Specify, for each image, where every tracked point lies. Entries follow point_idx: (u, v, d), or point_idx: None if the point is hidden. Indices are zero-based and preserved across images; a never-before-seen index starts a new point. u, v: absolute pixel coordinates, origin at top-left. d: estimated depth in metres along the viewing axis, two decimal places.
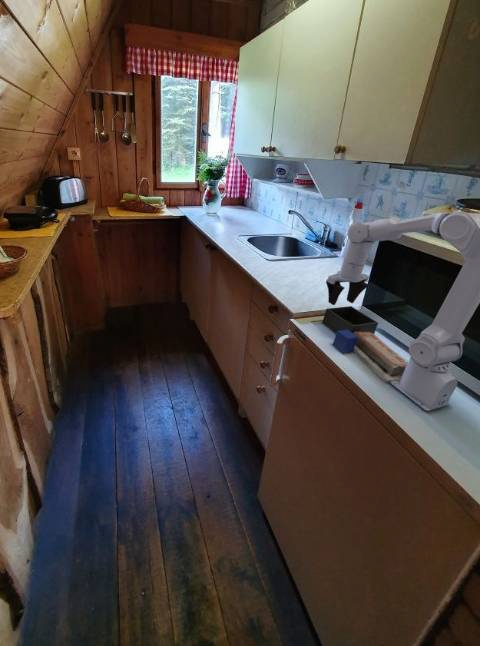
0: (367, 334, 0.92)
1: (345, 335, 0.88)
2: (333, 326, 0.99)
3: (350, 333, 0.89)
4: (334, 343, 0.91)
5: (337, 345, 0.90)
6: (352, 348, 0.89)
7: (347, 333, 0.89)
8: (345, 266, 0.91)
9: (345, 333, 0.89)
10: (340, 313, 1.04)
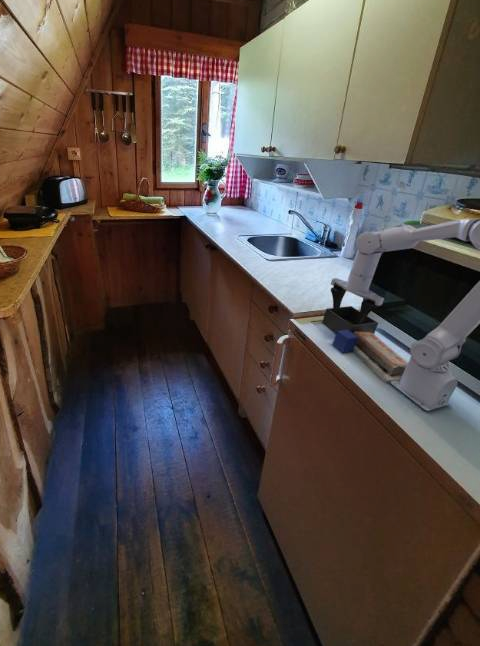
0: (367, 334, 0.92)
1: (345, 335, 0.88)
2: (333, 326, 0.99)
3: (350, 333, 0.89)
4: (334, 343, 0.91)
5: (337, 345, 0.90)
6: (352, 348, 0.89)
7: (347, 333, 0.89)
8: None
9: (345, 333, 0.89)
10: (340, 313, 1.04)
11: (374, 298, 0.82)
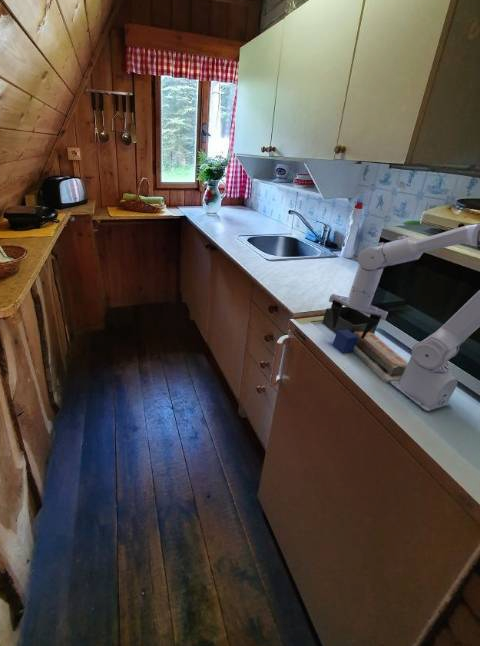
0: (367, 334, 0.92)
1: (345, 335, 0.88)
2: None
3: (350, 333, 0.89)
4: (334, 343, 0.91)
5: (337, 345, 0.90)
6: (352, 348, 0.89)
7: (347, 333, 0.89)
8: (350, 290, 0.85)
9: (345, 333, 0.89)
10: (340, 313, 1.04)
11: (380, 313, 0.81)
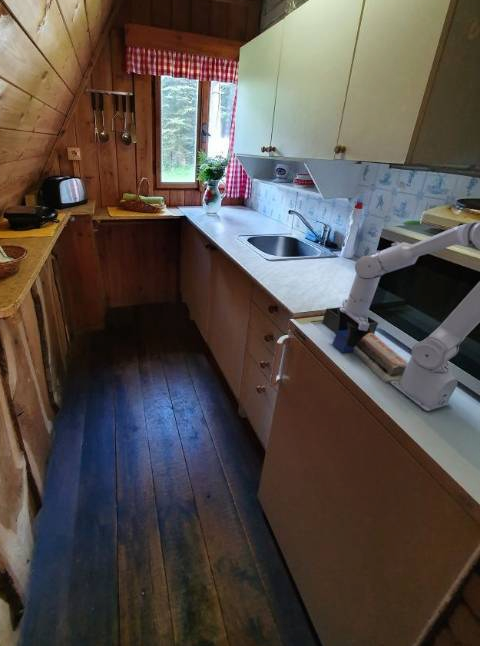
0: (367, 334, 0.92)
1: (345, 335, 0.88)
2: (333, 326, 0.99)
3: None
4: (334, 343, 0.91)
5: (337, 345, 0.90)
6: (352, 348, 0.89)
7: (347, 333, 0.89)
8: (362, 306, 0.82)
9: (345, 333, 0.89)
10: None
11: None
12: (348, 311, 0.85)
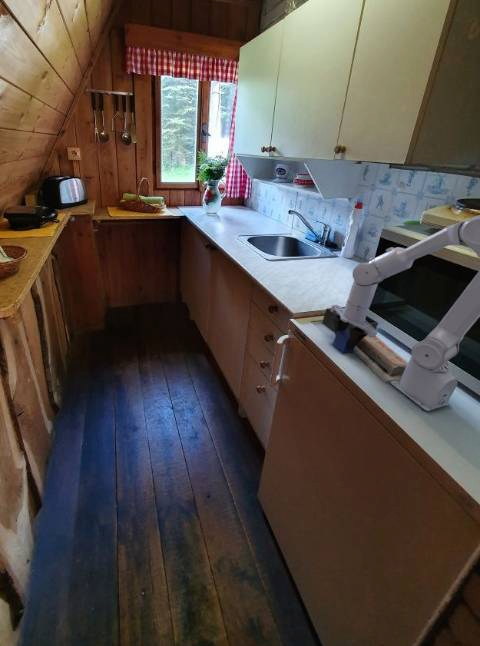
0: None
1: (345, 336, 0.88)
2: (333, 326, 0.99)
3: None
4: (334, 343, 0.91)
5: (337, 345, 0.90)
6: None
7: (347, 333, 0.89)
8: (364, 312, 0.83)
9: (345, 333, 0.89)
10: None
11: None
12: (351, 320, 0.84)
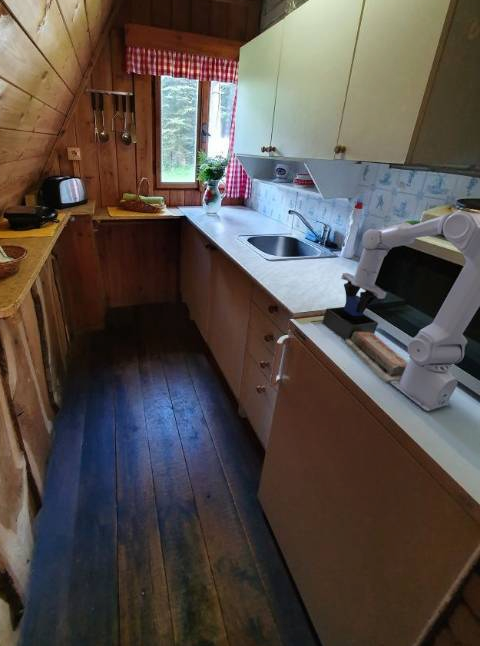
0: (367, 334, 0.92)
1: (356, 300, 0.94)
2: (333, 326, 0.99)
3: None
4: (345, 308, 0.98)
5: (348, 309, 0.97)
6: None
7: (357, 298, 0.96)
8: (374, 276, 0.90)
9: (355, 298, 0.96)
10: (340, 313, 1.04)
11: None
12: (361, 284, 0.91)
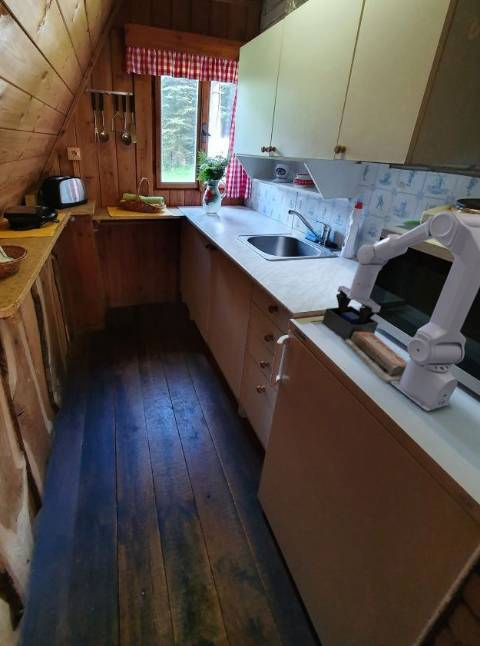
0: (367, 334, 0.92)
1: (350, 317, 0.98)
2: (333, 326, 0.99)
3: (354, 315, 0.99)
4: None
5: None
6: None
7: (351, 315, 0.99)
8: (369, 290, 0.93)
9: (349, 314, 0.99)
10: None
11: None
12: (356, 297, 0.94)
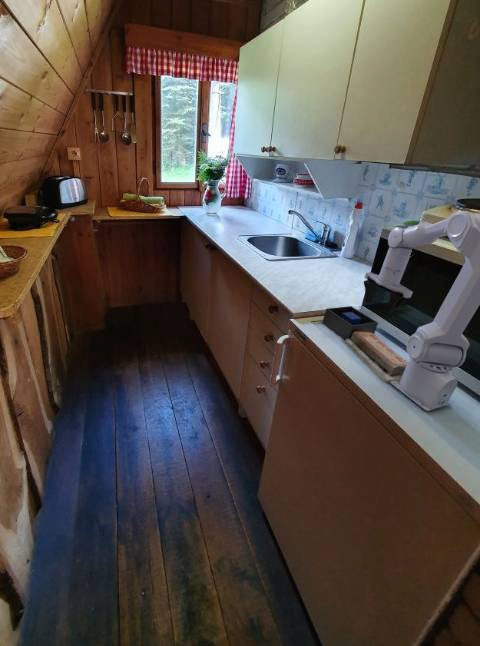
0: (367, 334, 0.92)
1: (350, 317, 0.98)
2: (333, 326, 0.99)
3: (354, 315, 0.99)
4: None
5: None
6: None
7: (351, 315, 0.99)
8: (400, 276, 0.90)
9: (349, 314, 0.99)
10: (340, 313, 1.04)
11: None
12: (386, 283, 0.92)
